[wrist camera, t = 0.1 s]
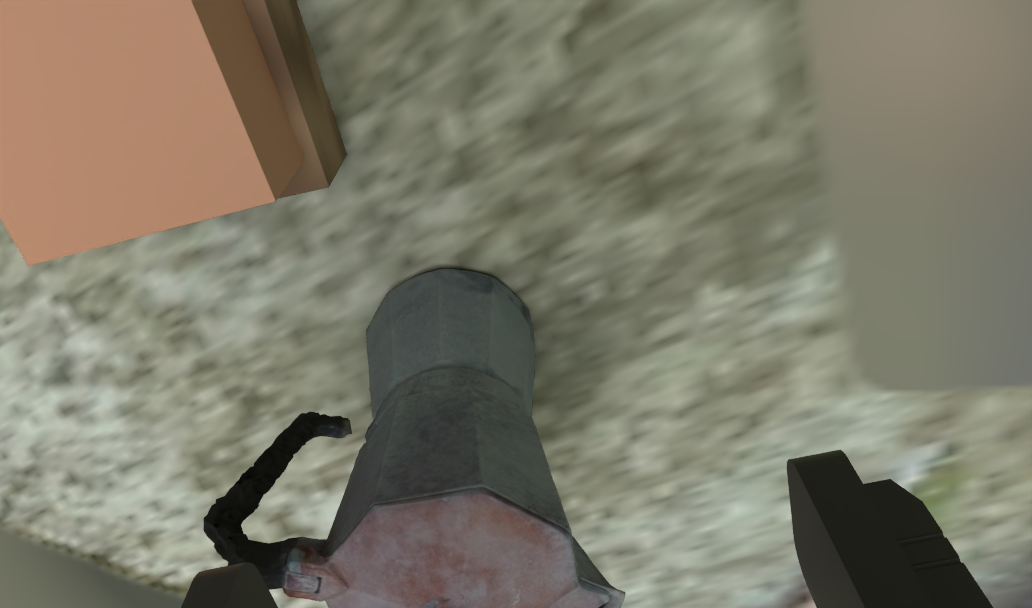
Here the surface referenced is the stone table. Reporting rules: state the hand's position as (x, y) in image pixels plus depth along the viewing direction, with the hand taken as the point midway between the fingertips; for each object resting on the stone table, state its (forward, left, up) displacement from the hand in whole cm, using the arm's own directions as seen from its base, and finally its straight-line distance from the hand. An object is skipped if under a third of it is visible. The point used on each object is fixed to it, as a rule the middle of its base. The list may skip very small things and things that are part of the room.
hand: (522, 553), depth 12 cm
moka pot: (+12, -6, -29) cm, 32 cm away
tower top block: (-5, -14, -25) cm, 29 cm away
